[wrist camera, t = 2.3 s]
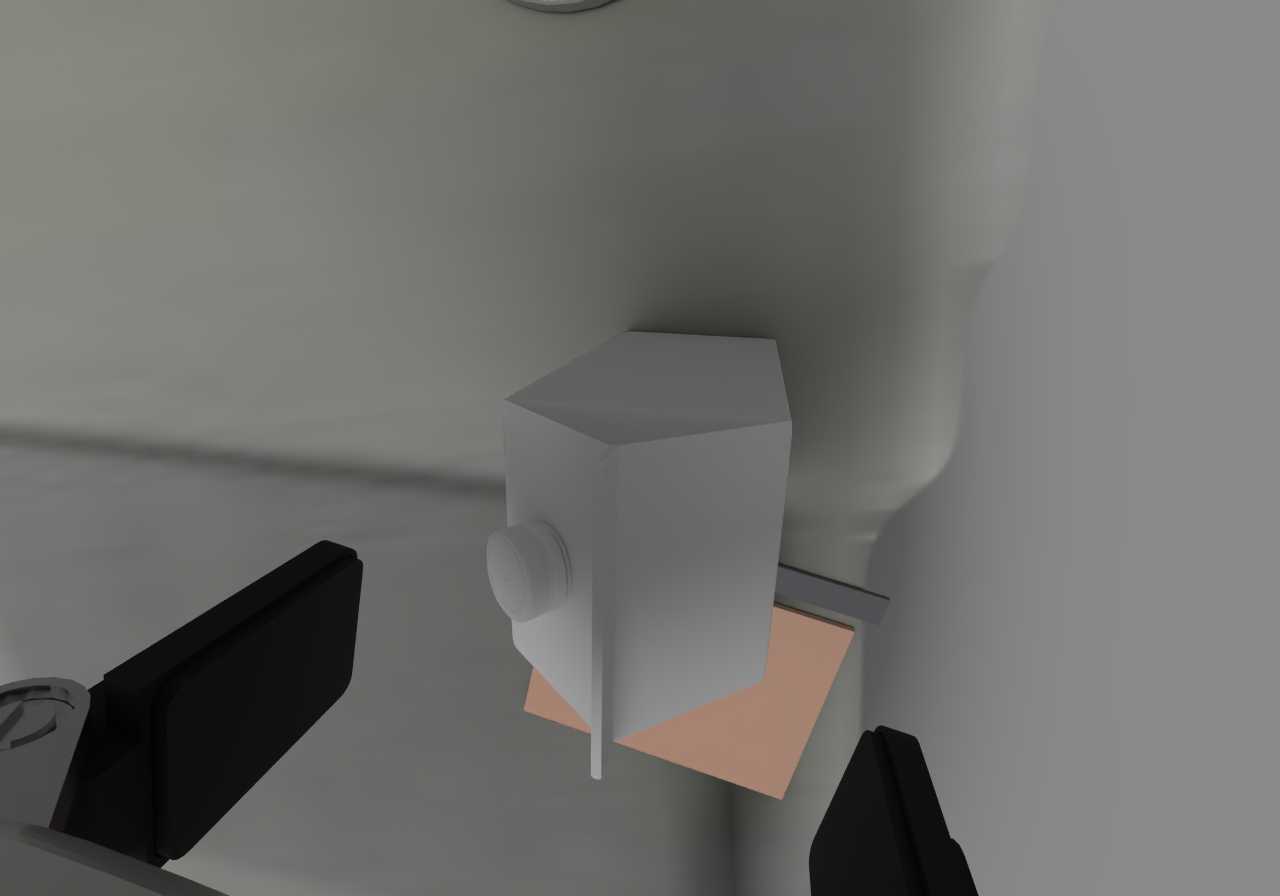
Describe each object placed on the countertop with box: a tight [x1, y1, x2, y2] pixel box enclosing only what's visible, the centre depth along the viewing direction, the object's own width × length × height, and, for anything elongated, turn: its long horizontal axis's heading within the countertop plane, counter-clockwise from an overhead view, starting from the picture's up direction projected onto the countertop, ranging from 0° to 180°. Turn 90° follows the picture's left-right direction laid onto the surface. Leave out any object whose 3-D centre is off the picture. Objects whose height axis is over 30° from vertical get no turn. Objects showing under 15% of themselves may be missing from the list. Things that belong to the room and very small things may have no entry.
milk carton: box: [486, 331, 792, 779], centre depth 21 cm, size 7×7×19 cm
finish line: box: [775, 564, 890, 625], centre depth 32 cm, size 2×18×1 cm, turn 76°
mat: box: [524, 603, 855, 800], centre depth 34 cm, size 12×16×1 cm
